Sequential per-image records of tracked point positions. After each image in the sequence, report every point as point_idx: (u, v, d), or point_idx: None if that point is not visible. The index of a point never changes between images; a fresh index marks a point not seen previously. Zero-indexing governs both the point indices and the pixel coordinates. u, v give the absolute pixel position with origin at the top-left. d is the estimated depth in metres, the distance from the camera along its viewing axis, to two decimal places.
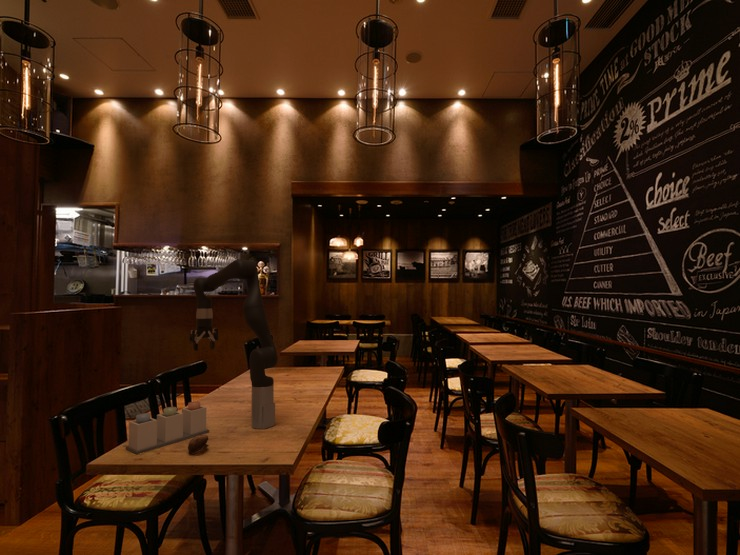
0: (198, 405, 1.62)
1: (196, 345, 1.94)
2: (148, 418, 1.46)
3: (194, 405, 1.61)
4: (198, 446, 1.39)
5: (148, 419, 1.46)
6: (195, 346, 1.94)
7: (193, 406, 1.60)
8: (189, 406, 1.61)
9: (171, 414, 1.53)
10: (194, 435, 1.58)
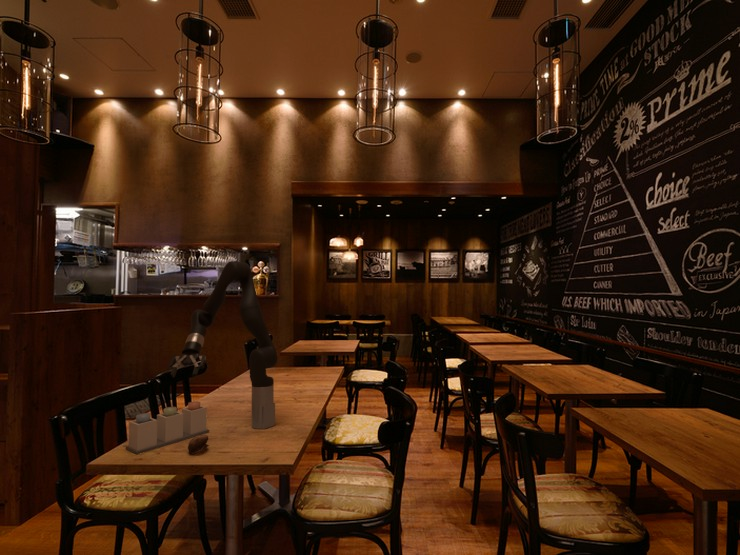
0: (198, 405, 1.62)
1: (173, 369, 1.69)
2: (148, 418, 1.46)
3: (194, 405, 1.61)
4: (198, 446, 1.39)
5: (148, 419, 1.46)
6: (172, 371, 1.68)
7: (193, 406, 1.60)
8: (189, 406, 1.61)
9: (171, 414, 1.53)
10: (194, 435, 1.58)
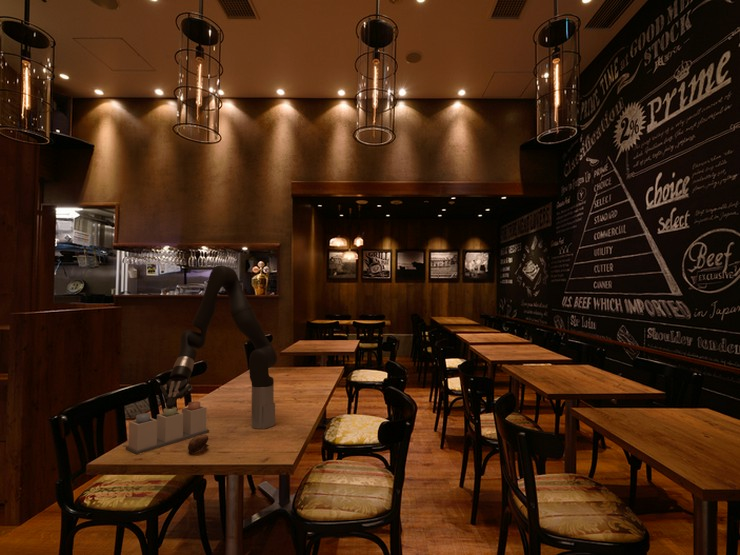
0: (198, 405, 1.62)
1: (168, 399, 1.55)
2: (148, 418, 1.46)
3: (194, 405, 1.61)
4: (198, 446, 1.39)
5: (148, 419, 1.46)
6: (167, 401, 1.55)
7: (193, 406, 1.60)
8: (189, 406, 1.61)
9: (171, 414, 1.53)
10: (194, 435, 1.58)
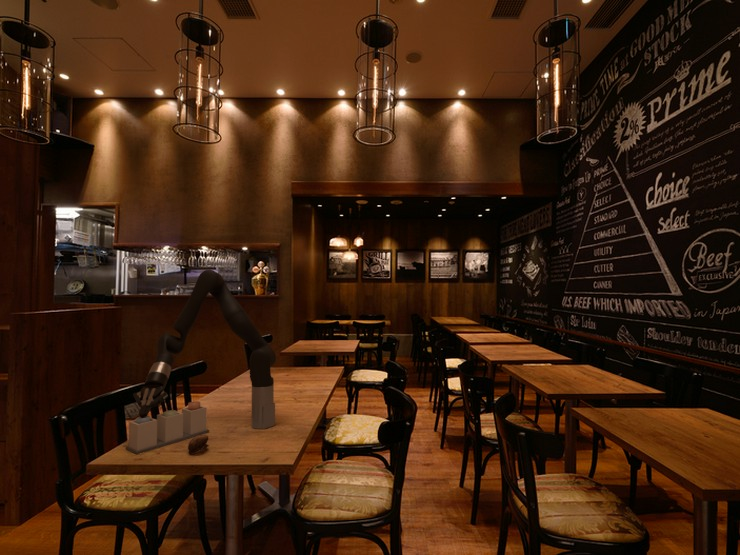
0: (198, 405, 1.62)
1: (142, 408, 1.47)
2: (148, 421, 1.46)
3: (194, 405, 1.61)
4: (198, 446, 1.39)
5: None
6: (140, 410, 1.47)
7: (193, 406, 1.60)
8: (189, 406, 1.61)
9: None
10: (194, 435, 1.58)
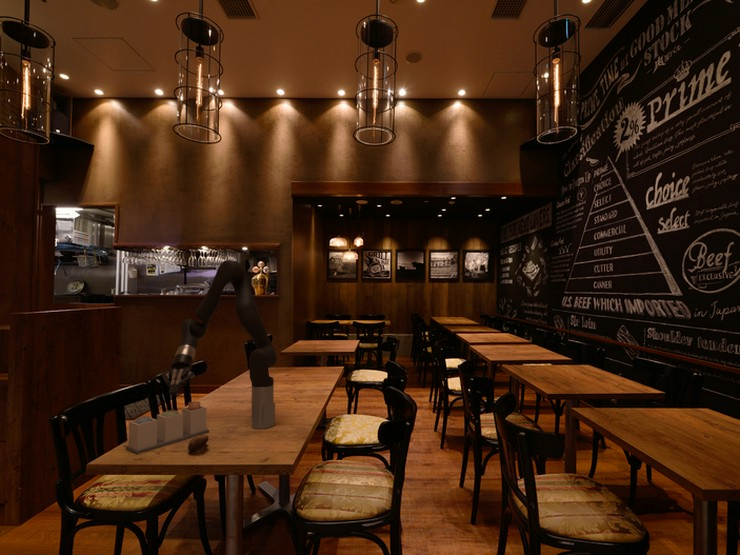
0: (198, 405, 1.62)
1: (171, 387, 1.56)
2: None
3: (194, 405, 1.61)
4: (198, 446, 1.39)
5: None
6: (170, 388, 1.55)
7: (193, 406, 1.60)
8: (189, 406, 1.61)
9: None
10: (194, 435, 1.58)
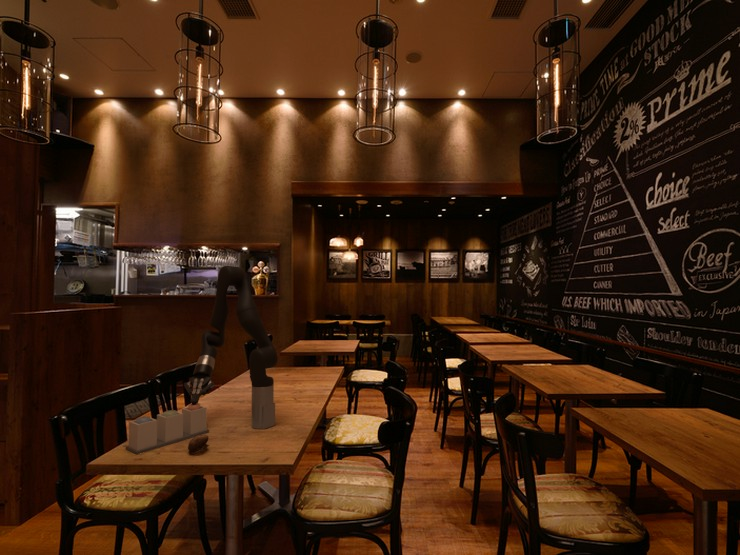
0: (198, 407, 1.62)
1: (193, 396, 1.64)
2: None
3: (194, 407, 1.61)
4: (198, 446, 1.39)
5: None
6: (192, 398, 1.63)
7: (193, 408, 1.60)
8: (189, 408, 1.61)
9: None
10: (194, 435, 1.58)
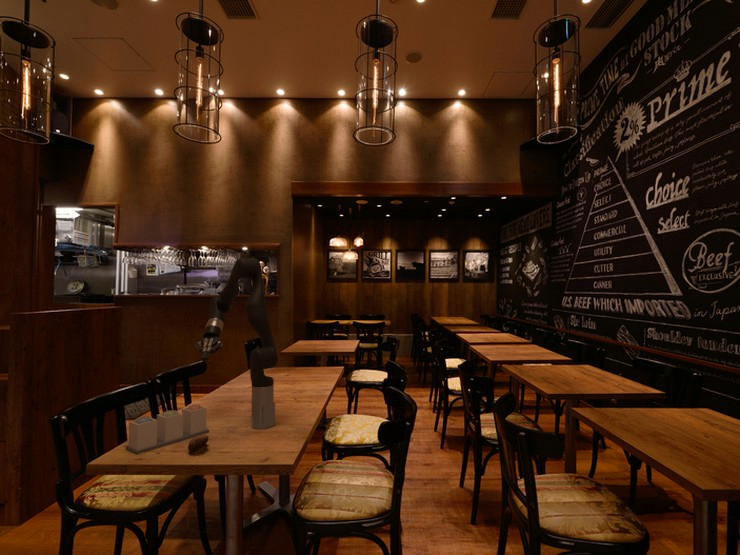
0: (198, 408, 1.62)
1: (203, 353, 1.76)
2: None
3: (194, 408, 1.61)
4: (198, 446, 1.39)
5: None
6: (202, 355, 1.76)
7: (193, 409, 1.60)
8: (189, 409, 1.61)
9: None
10: (194, 435, 1.58)
